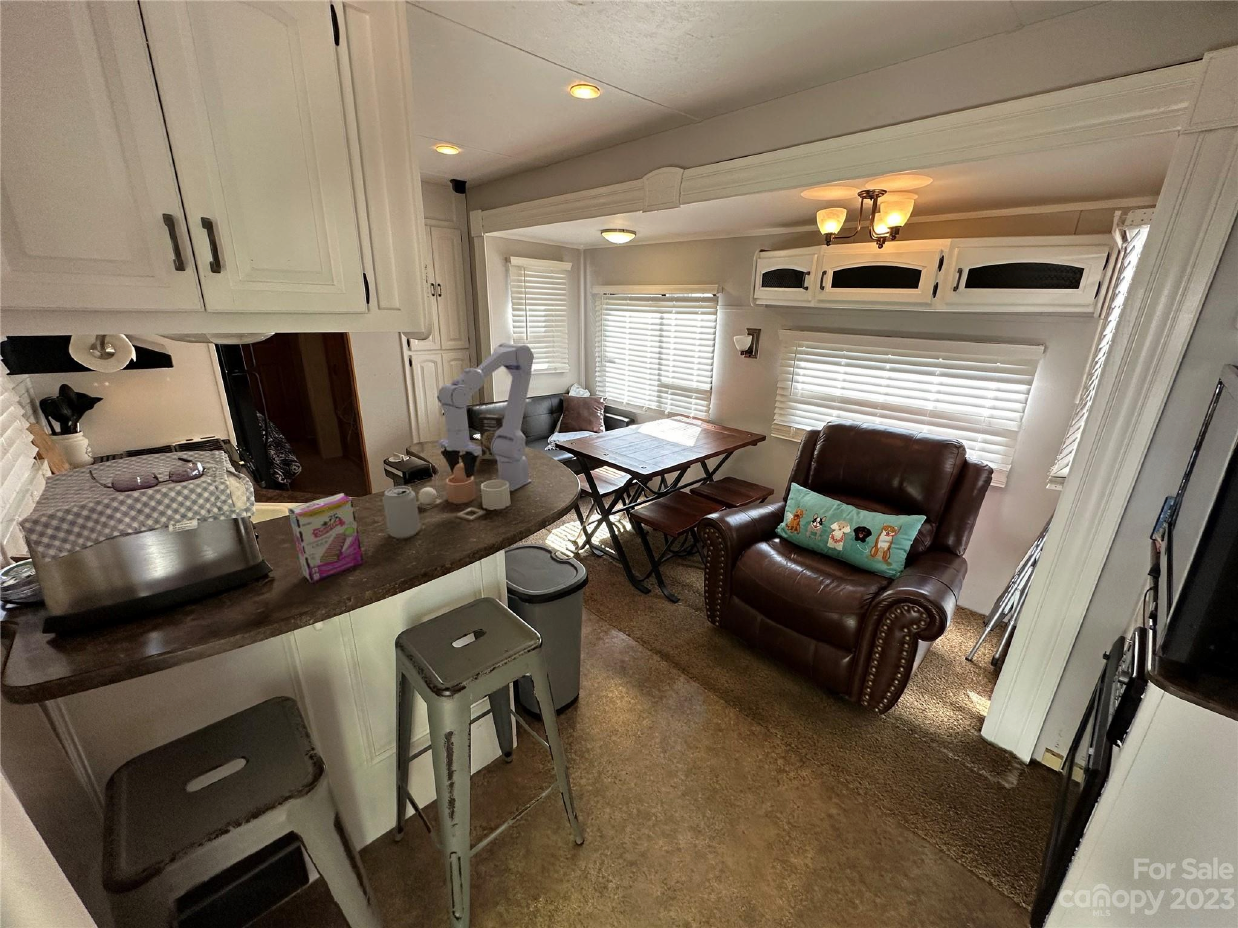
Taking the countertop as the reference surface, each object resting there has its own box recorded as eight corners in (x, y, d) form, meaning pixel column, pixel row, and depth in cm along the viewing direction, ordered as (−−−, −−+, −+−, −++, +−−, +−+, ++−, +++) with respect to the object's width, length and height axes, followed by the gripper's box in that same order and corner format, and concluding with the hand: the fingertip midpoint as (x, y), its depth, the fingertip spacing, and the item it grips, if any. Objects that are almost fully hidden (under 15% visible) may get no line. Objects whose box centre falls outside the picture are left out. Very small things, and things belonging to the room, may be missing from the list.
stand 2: (471, 509, 136) (471, 507, 136) (485, 513, 134) (485, 511, 134) (456, 516, 132) (456, 514, 132) (471, 520, 129) (470, 518, 129)
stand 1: (430, 498, 143) (429, 496, 143) (442, 502, 140) (442, 500, 140) (414, 505, 138) (414, 503, 138) (427, 509, 136) (427, 507, 136)
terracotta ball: (463, 475, 139) (461, 459, 137) (476, 478, 137) (474, 462, 135) (450, 481, 135) (448, 464, 133) (463, 484, 133) (461, 468, 131)
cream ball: (429, 499, 143) (427, 483, 141) (441, 502, 140) (439, 487, 139) (415, 505, 138) (413, 489, 137) (427, 509, 136) (425, 493, 134)
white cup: (496, 496, 145) (494, 477, 143) (515, 501, 141) (514, 483, 139) (477, 505, 138) (475, 486, 136) (497, 511, 135) (495, 492, 133)
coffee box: (481, 459, 176) (477, 416, 171) (488, 453, 182) (484, 412, 176) (504, 460, 175) (501, 417, 169) (511, 454, 181) (508, 413, 175)
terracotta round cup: (462, 490, 149) (460, 472, 146) (481, 495, 145) (479, 477, 143) (442, 499, 142) (440, 481, 140) (461, 505, 139) (459, 486, 137)
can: (409, 541, 119) (402, 497, 115) (382, 538, 120) (374, 494, 116) (426, 527, 126) (420, 485, 122) (401, 524, 127) (394, 483, 123)
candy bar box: (312, 584, 101) (294, 515, 96) (303, 576, 104) (285, 508, 99) (365, 562, 110) (352, 497, 104) (356, 555, 113) (342, 491, 107)
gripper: (427, 428, 131) (433, 474, 135) (465, 436, 124) (471, 484, 129) (447, 422, 136) (452, 467, 141) (485, 429, 130) (489, 475, 134)
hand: (462, 474), depth 135 cm, fingers closed on terracotta ball, 5 cm apart
